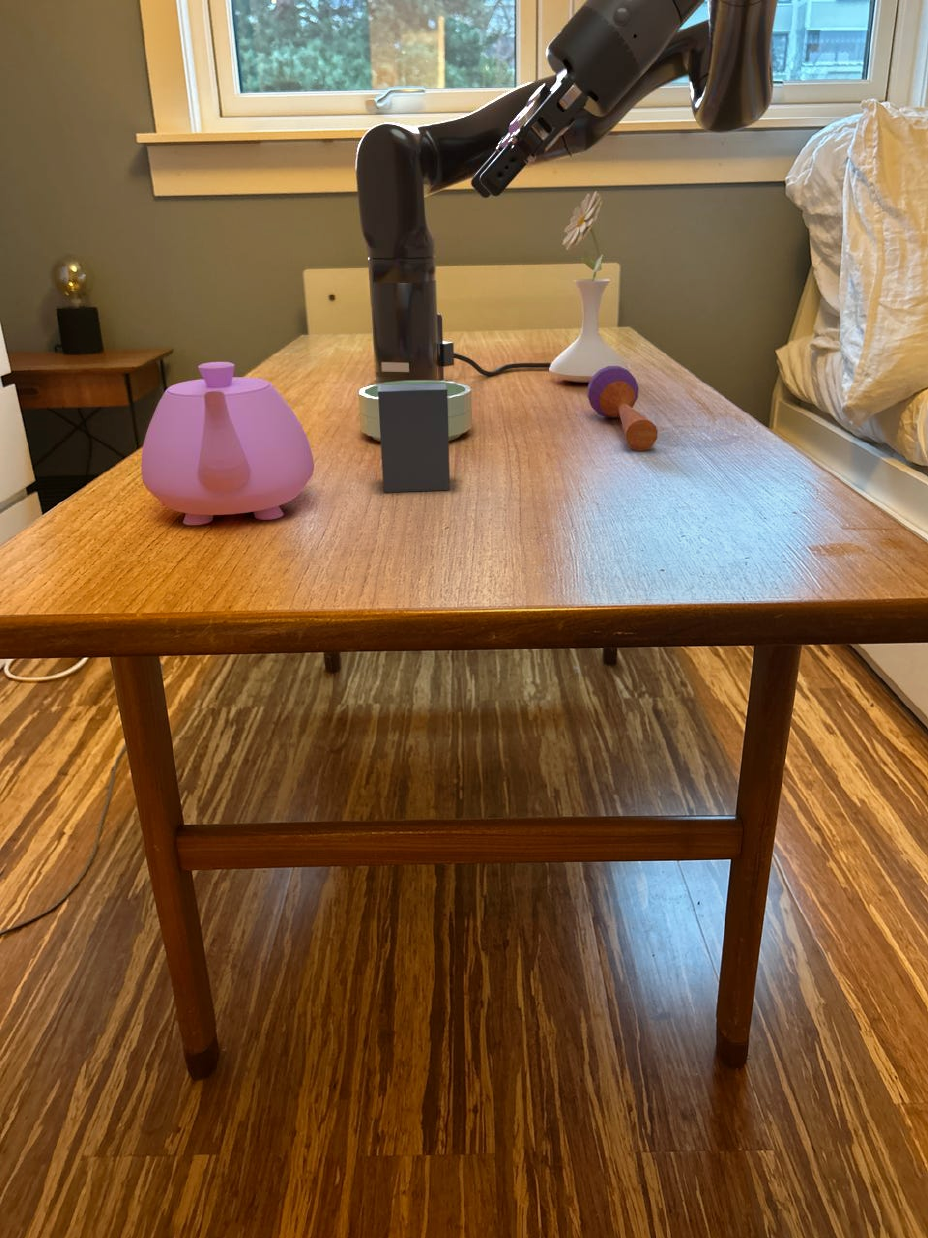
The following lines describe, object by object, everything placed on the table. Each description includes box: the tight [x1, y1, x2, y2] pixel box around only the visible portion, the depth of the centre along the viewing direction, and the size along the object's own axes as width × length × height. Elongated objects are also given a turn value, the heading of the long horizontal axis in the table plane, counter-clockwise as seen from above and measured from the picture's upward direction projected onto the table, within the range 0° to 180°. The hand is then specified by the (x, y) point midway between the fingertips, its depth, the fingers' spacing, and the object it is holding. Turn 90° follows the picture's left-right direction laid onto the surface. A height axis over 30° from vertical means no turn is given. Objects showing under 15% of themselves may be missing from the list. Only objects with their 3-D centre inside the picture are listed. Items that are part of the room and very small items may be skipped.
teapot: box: [140, 361, 315, 526], centre depth 74 cm, size 20×14×12 cm
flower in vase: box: [548, 190, 629, 384], centre depth 125 cm, size 13×11×25 cm
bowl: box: [358, 380, 473, 443], centre depth 101 cm, size 12×12×5 cm
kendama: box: [586, 366, 659, 452], centre depth 101 cm, size 6×6×20 cm
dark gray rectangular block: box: [378, 383, 451, 493], centre depth 81 cm, size 3×6×9 cm, turn 94°
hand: (481, 190), depth 81 cm, fingers open, 8 cm apart
